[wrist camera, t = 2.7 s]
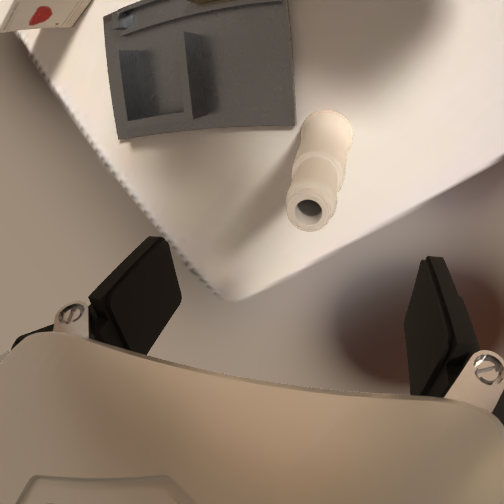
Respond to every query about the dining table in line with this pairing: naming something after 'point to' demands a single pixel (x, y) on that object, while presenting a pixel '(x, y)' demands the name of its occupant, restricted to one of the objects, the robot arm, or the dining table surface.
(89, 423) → the robot arm
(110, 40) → the cradle
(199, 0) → the wooden block
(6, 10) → the supplement box
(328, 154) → the cosmetic bottle
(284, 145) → the dining table surface
